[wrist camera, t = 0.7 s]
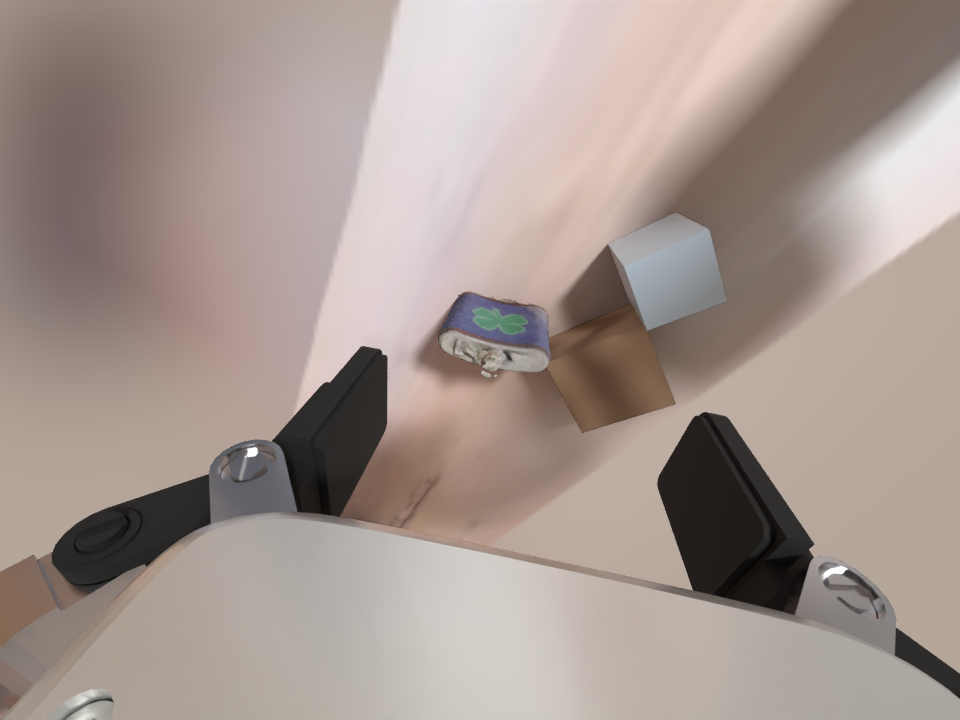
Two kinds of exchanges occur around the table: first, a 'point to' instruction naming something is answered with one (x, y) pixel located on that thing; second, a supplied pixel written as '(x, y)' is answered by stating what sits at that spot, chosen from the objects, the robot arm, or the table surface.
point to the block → (608, 370)
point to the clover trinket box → (496, 334)
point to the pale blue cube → (668, 270)
